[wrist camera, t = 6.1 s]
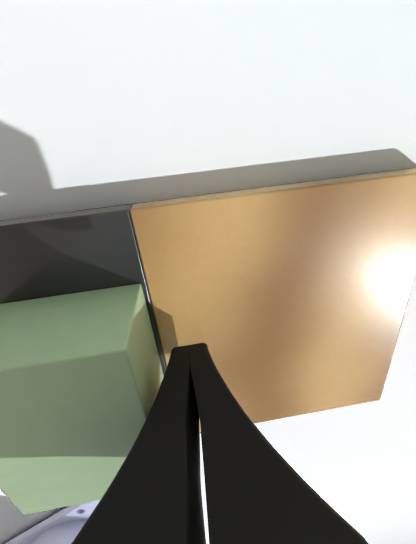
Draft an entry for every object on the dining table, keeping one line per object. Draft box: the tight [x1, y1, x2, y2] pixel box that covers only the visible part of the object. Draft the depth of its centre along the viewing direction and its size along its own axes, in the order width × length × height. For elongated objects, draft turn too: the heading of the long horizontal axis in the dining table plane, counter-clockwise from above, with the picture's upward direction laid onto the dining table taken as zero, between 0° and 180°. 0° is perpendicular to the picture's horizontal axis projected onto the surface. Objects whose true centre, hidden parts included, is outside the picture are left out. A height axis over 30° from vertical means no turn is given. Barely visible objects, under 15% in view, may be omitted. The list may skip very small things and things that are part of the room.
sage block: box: [0, 284, 164, 515], centre depth 9 cm, size 5×6×4 cm
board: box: [0, 168, 416, 433], centre depth 11 cm, size 20×12×1 cm, turn 96°
